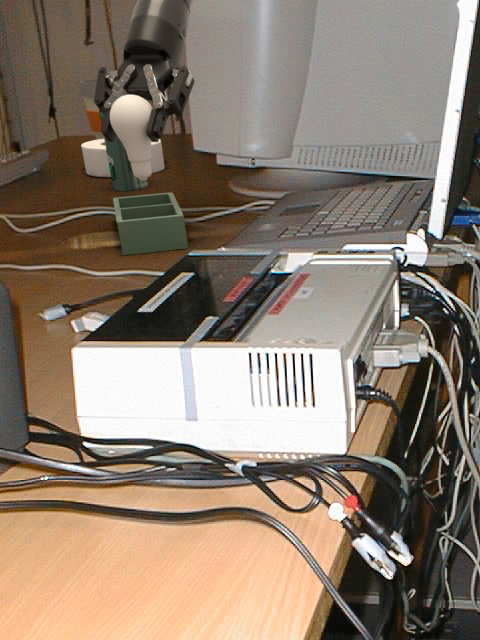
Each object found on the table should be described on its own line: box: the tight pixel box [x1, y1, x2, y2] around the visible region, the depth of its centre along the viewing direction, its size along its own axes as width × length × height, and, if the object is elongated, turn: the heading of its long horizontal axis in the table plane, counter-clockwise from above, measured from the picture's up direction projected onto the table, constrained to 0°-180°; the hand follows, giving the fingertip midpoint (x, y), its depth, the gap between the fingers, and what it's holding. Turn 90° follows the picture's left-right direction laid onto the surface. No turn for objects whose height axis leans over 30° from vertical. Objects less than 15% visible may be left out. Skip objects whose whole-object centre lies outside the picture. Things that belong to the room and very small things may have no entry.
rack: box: [112, 192, 189, 256], centre depth 133 cm, size 17×9×5 cm, turn 16°
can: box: [99, 109, 149, 192], centre depth 165 cm, size 6×6×15 cm
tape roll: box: [80, 138, 166, 178], centre depth 184 cm, size 16×16×6 cm
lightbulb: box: [110, 95, 154, 181], centre depth 124 cm, size 6×6×11 cm
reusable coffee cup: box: [79, 78, 128, 140], centre depth 202 cm, size 13×13×15 cm
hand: (129, 137), depth 122 cm, fingers closed on lightbulb, 6 cm apart
